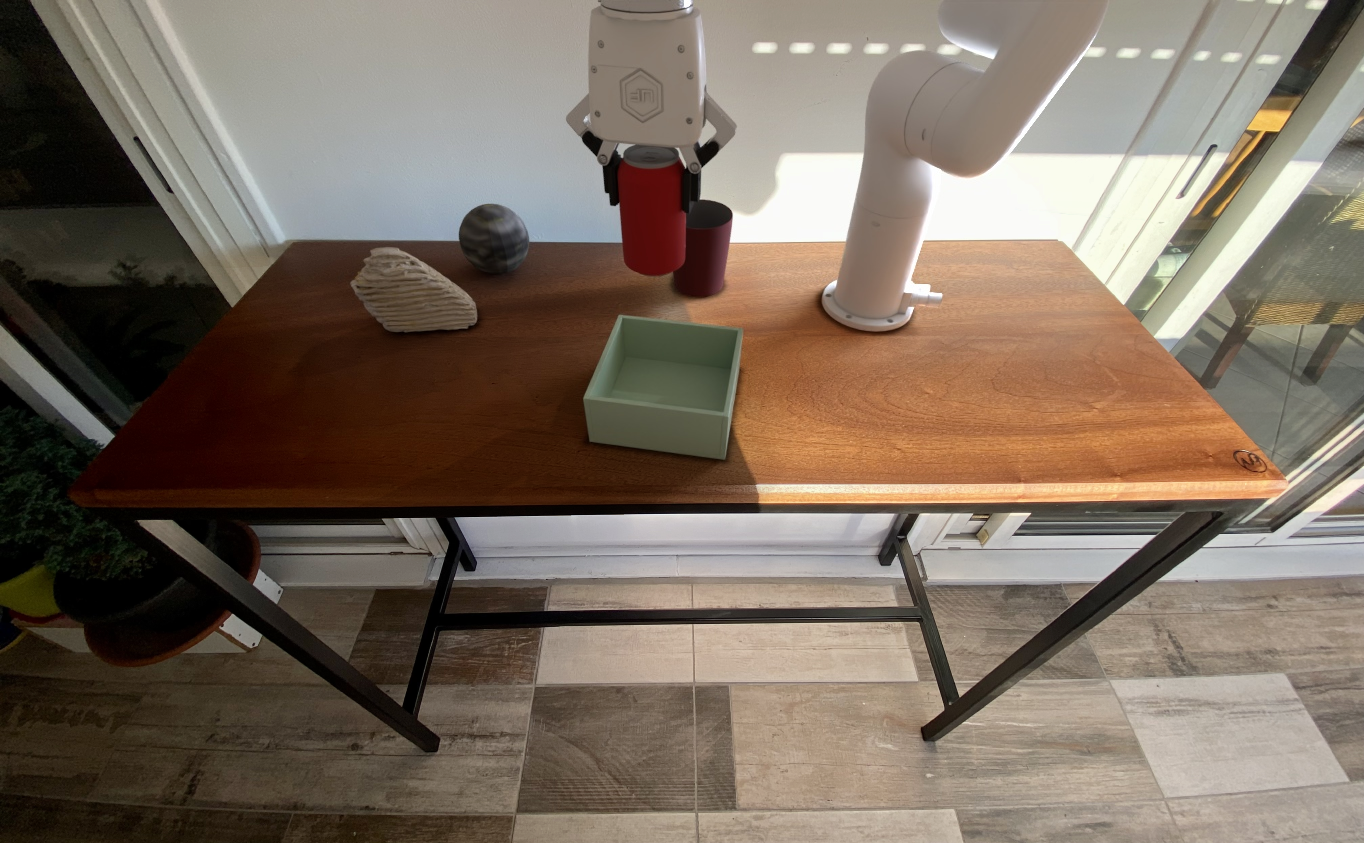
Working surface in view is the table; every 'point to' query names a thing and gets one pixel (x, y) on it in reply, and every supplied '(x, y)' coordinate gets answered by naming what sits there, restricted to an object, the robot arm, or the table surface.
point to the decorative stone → (494, 238)
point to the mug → (705, 249)
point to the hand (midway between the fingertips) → (652, 202)
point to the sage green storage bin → (665, 386)
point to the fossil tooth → (411, 294)
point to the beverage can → (652, 209)
